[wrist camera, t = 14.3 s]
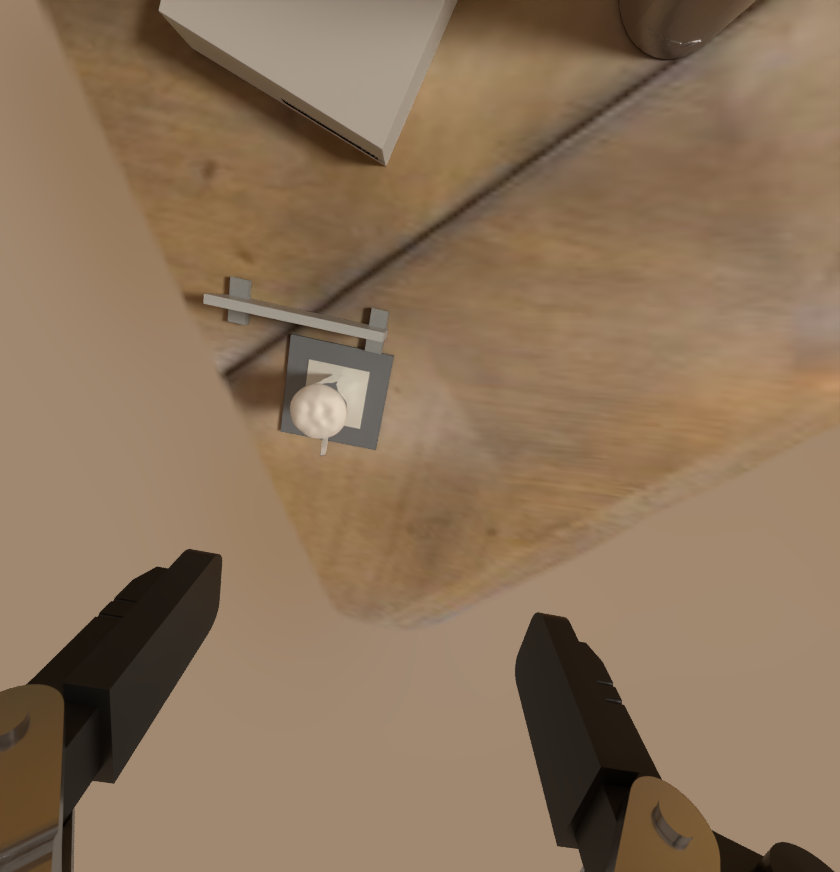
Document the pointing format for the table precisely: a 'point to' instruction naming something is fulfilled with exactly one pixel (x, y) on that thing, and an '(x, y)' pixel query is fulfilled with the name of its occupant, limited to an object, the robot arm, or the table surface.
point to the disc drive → (324, 56)
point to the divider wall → (297, 315)
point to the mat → (356, 365)
